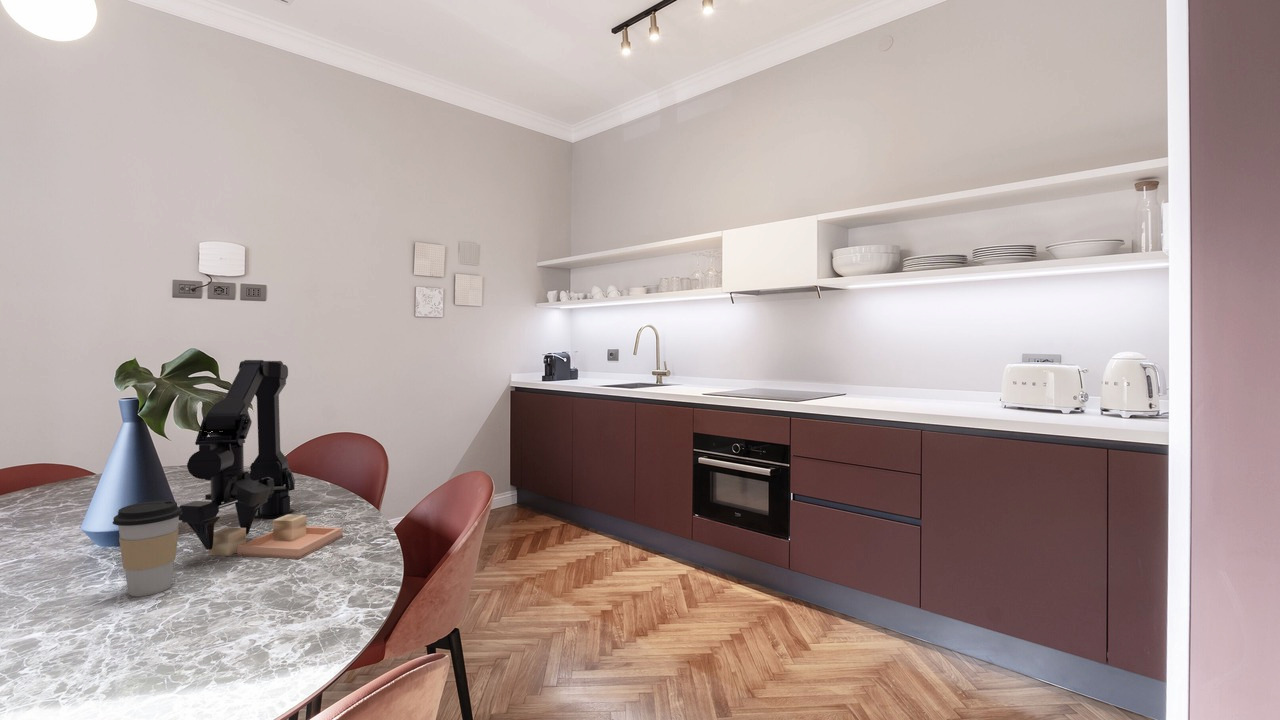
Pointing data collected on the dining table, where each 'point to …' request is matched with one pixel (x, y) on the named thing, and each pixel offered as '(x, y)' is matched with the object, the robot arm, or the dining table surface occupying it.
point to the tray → (290, 544)
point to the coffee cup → (148, 545)
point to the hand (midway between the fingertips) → (227, 541)
